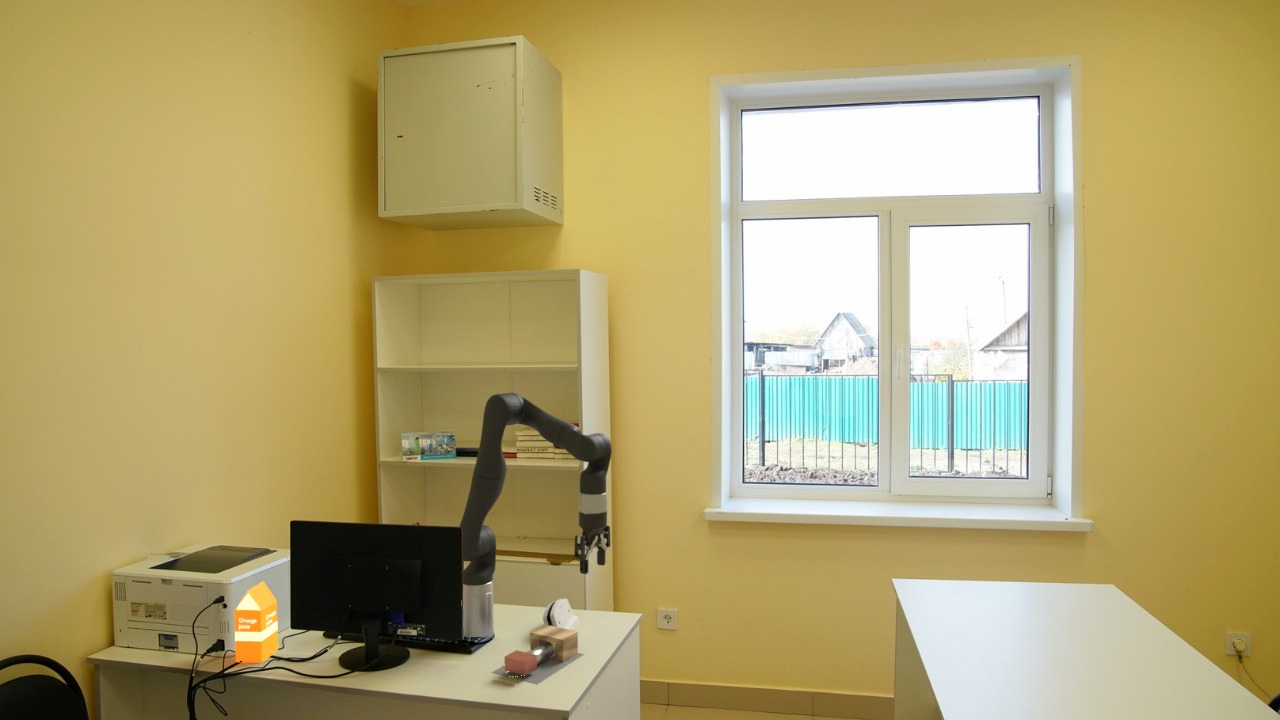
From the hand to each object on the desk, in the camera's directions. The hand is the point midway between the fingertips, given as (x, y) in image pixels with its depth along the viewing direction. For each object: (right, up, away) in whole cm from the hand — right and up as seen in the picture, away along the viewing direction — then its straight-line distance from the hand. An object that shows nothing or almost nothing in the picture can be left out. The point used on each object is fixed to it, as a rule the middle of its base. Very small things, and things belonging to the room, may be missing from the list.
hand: (592, 569), depth 217 cm
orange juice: (-95, -28, +12) cm, 100 cm away
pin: (-17, -27, +3) cm, 32 cm away
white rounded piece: (-11, -27, +30) cm, 42 cm away
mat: (-15, -27, +6) cm, 32 cm away
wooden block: (-11, -27, +12) cm, 32 cm away
